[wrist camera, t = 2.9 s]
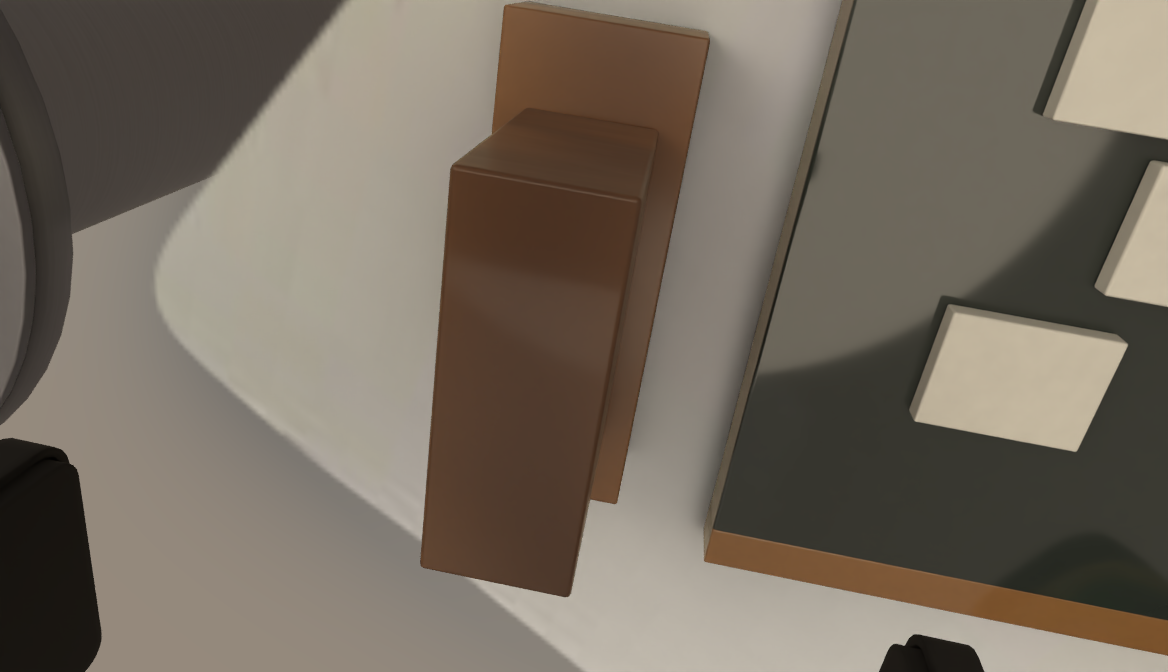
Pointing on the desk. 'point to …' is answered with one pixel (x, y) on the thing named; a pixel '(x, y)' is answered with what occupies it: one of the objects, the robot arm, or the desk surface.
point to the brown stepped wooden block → (553, 287)
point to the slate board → (911, 322)
